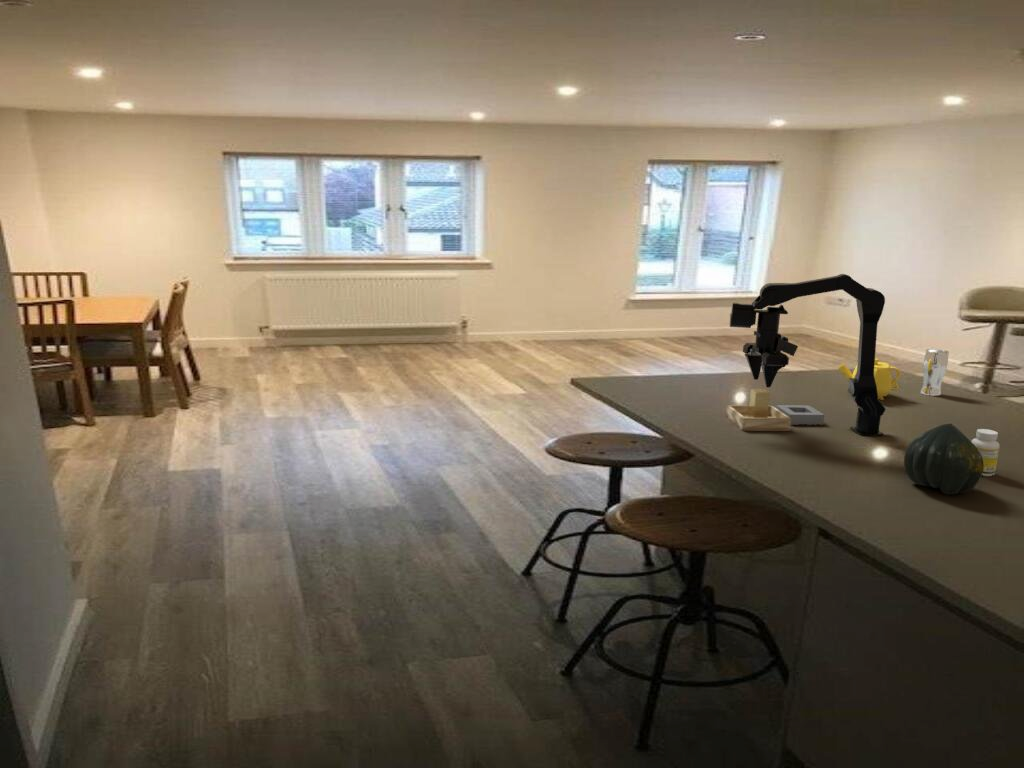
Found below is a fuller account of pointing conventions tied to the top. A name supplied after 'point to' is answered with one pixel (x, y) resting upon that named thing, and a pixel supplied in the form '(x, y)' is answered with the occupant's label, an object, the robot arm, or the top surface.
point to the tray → (758, 419)
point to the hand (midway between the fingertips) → (761, 383)
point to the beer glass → (934, 371)
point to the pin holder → (802, 414)
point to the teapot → (877, 377)
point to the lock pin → (759, 403)
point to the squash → (944, 460)
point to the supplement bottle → (987, 449)
